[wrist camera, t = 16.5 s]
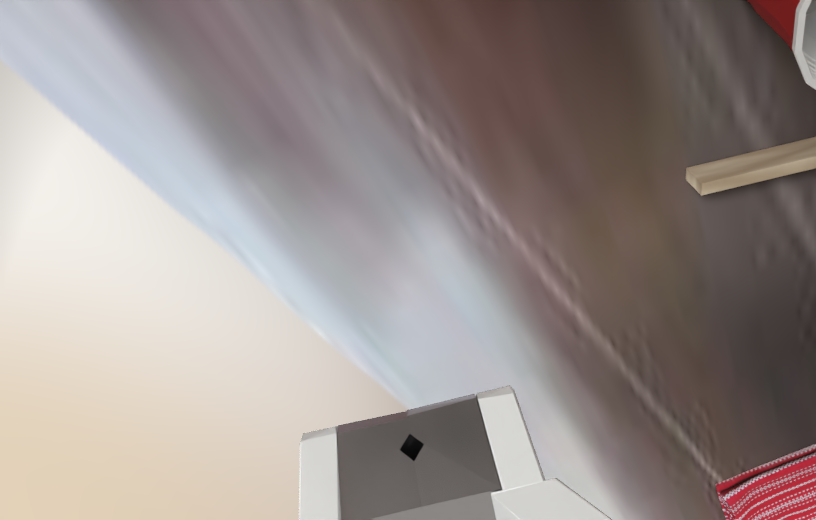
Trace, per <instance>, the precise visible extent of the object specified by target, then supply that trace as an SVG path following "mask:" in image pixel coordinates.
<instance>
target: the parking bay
mask: <svg viewBox="0 0 816 520" xmlns="http://www.w3.org/2000/svg"><path fill="white" fill-rule="evenodd" d="M814 168H816V137H813V138H808V139H804V140H800V141H796V142H792V143H788V144H783V145H779V146H775V147H771V148H767V149H763V150H758V151H754V152H750V153H746V154H742V155H738V156H734V157H729V158H725V159H721V160H717V161H713V162H709V163H704V164H700V165H696V166H692V167H688V168H686V180H687V181H688V182H689V183H690V184H691V185H692V186H693V187H694V189H695V190H696V191H697V192H698V193H699V194H700V195H701V196H702V195H706V194H710V193H714V192H718V191H723V190H727V189H731V188H735V187H739V186H743V185H748V184H752V183H756V182H760V181H764V180H769V179H773V178H777V177H781V176H785V175H789V174H794V173H798V172H802V171H806V170H810V169H814Z"/></svg>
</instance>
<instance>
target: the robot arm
mask: <svg viewBox="0 0 816 520" xmlns="http://www.w3.org/2000/svg"><path fill="white" fill-rule="evenodd" d="M299 473H300V474H299V475H300V476H299V520H612V519H611V518H609V517H608V516H607V515H605V514H604V513H603V512H601V511H600V510H599V509H597V508H596V507H595V506H593V505H592V504H590V503H589V502H588V501H586V500H585V499H584V498H582V497H581V496H580V495H578V494H577V493H576V492H574V491H573V490H572V489H570V488H569V487H568V486H566V485H565V484H564V483H562V482H561V481H560V480H558V479H557V478H554V479H549V480H545V478H544V475H543V472H542V469H541V466H540V463H539V460H538V458H537V455H536V452H535V449H534V446H533V443H532V440H531V437H530V434H529V432H528V429H527V426H526V423H525V420H524V417H523V414H522V411H521V408H520V406H519V403H518V400H517V397H516V394H515V391H514V390H513V388H512V387H511V386H506V387H502V388H497V389H493V390H489V391H485V392H481V393H477V394H476V396H475V394H472V395H468V396H464V397H459V398H455V399H451V400H447V401H443V402H439V403H435V404H431V405H427V406H423V407H419V408H415V409H411V410H407V411H406V412H401V413H396V414H391V415H387V416H382V417H377V418H372V419H367V420H363V421H358V422H353V423H349V424H343V425H339V426H337V427H332V428H327V429H323V430H318V431H313V432H309V433H303V435H302V438H301V442H300V471H299Z"/></svg>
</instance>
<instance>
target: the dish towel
mask: <svg viewBox="0 0 816 520" xmlns="http://www.w3.org/2000/svg"><path fill="white" fill-rule="evenodd" d="M715 486H716V489H717V494H718V498H719V500H720V503H721V506H722V510H723V511H724V514H725V517H726V520H816V444H813V445H811V446H808V447H806V448H804V449H801V450H799V451H796V452H793V453H791V454H788V455H786V456H783V457H781V458H778V459H776V460H773V461H771V462H768V463H766V464H763V465H760V466H758V467H756V468H753V469H751V470H748V471H746V472H743V473H741V474H739V475H736V476H734V477H732V478H730V479H727V480H725V481H722V482H719V483H717V484H716V485H715Z"/></svg>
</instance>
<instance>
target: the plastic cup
mask: <svg viewBox="0 0 816 520" xmlns="http://www.w3.org/2000/svg"><path fill="white" fill-rule="evenodd" d="M747 1H748V2H749V3H750V4H751V5H752V7H753V9H754V10H755V11H756V12H757V13H758V14H759V15H760V16H761V17H762V18H763V19H764V20H765V21H766V22H767V23H768V24H769V25H770V26H771V28H772V29H773V30H774V31H775V32H776V33H777V34H778V35H779V36H780V37H781V38H782V39H783V40H784V41H785V42H786V43H787V44H788V45H789V47H790V49H791V51H792V52H793V53H794V56H795V58H796V61H797V63H798V66H799V68H800V71H801V73H802V76H803V78H804V80H805V82H806V84H808V85H809V86H811V87H812V88H814V89H815V90H816V0H747Z"/></svg>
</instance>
